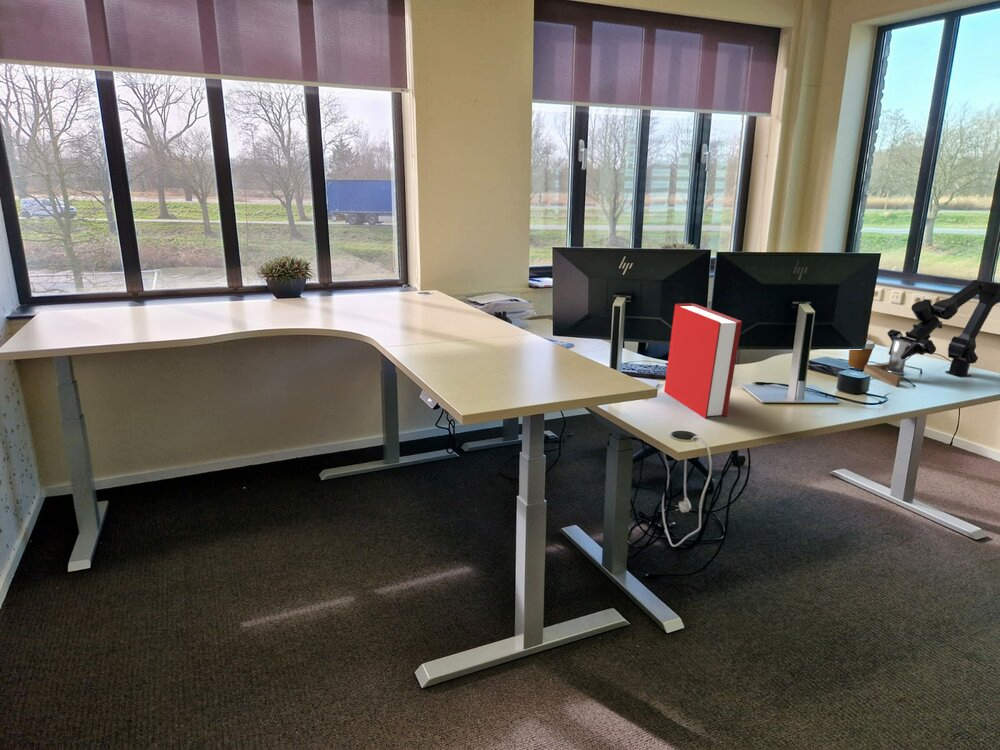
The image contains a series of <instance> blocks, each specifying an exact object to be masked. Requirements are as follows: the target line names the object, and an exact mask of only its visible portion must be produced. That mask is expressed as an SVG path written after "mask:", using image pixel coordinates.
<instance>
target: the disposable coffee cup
mask: <svg viewBox="0 0 1000 750" xmlns="http://www.w3.org/2000/svg"><path fill="white" fill-rule="evenodd" d="M866 340H867V342H866V347H865V349H862V350H848V351H849V352H848V365H849V366H851V367H854V368H859V369H862V370H863V371H862V372H864V368H865V365H867V364H869V361H870V357H871V355H872V352H873V350H874V348H875V347H876V345H875V342H874V341H873V340H868V339H866ZM848 365H847V366H848Z"/></svg>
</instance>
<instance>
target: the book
mask: <svg viewBox="0 0 1000 750" xmlns="http://www.w3.org/2000/svg"><path fill="white" fill-rule="evenodd" d="M742 324H743V321H742V320H739V319H737V318H734V317H731V316H729V315H726V314H724V313H720V312H718V311H715V310H713V309H710V308H708V307H704V306H702V305H699V304H696V303H690V302H688V303H685V302H684V303H675V305H674V311H673V319H672V325H671V326H672V327H671V335H670V342H669V348H668V349H669V350H668V359H667V367H666V374H665V381H664V382H665V383H664V390H663V391H664V393H665V394H666V395H668V396H669V397H672V398H673V399H674V400H676V401H677V402H679V403H680V404H682V405H683V406H685V407H686V408H688V409H689V410H691V411H692V412H693V413H695V414H697V415H699V416H700V417H701V418H704V419H706V418H707V417H712V416H723V417H725V418H727V416H728V410H729V404H730V399H731V398H730V397H731V392H732V385H733V380H734V372H735V366H736V360H737V355H738V354H737V353H738V348H739V343H740V342H739V341H740V336H741V329H742Z"/></svg>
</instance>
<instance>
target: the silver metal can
mask: <svg viewBox="0 0 1000 750" xmlns="http://www.w3.org/2000/svg"><path fill="white" fill-rule="evenodd" d="M909 346H910V341H907V340H903V339H894V342H893V346H892V350H891V355H889V360H888V362H887V364H888V367H887V368H886V370H885V371H887V372H890V373H893V374H896V375H898V376H902V375H905V371H904V370H905V365H906V361H907V358H905V359H901V357H902V355H903V354H904V352H905V351H906V350H907V349H908V347H909Z"/></svg>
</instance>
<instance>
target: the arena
mask: <svg viewBox="0 0 1000 750" xmlns="http://www.w3.org/2000/svg"><path fill="white" fill-rule="evenodd" d="M887 367H888V363H880V364H877V363H876V364H869V363H867V365H865V368H864V371H863V372H864V373H866V374H869V375H871V376H872V377H871V378H873V379H876V380H877V381H881V382H883V383H885V384H888V385H890V386H893V387H895V388H897V387H900V384H901V380H902V375H897V374H893V373H890V372H887V371H885V370H886V368H887Z"/></svg>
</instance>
